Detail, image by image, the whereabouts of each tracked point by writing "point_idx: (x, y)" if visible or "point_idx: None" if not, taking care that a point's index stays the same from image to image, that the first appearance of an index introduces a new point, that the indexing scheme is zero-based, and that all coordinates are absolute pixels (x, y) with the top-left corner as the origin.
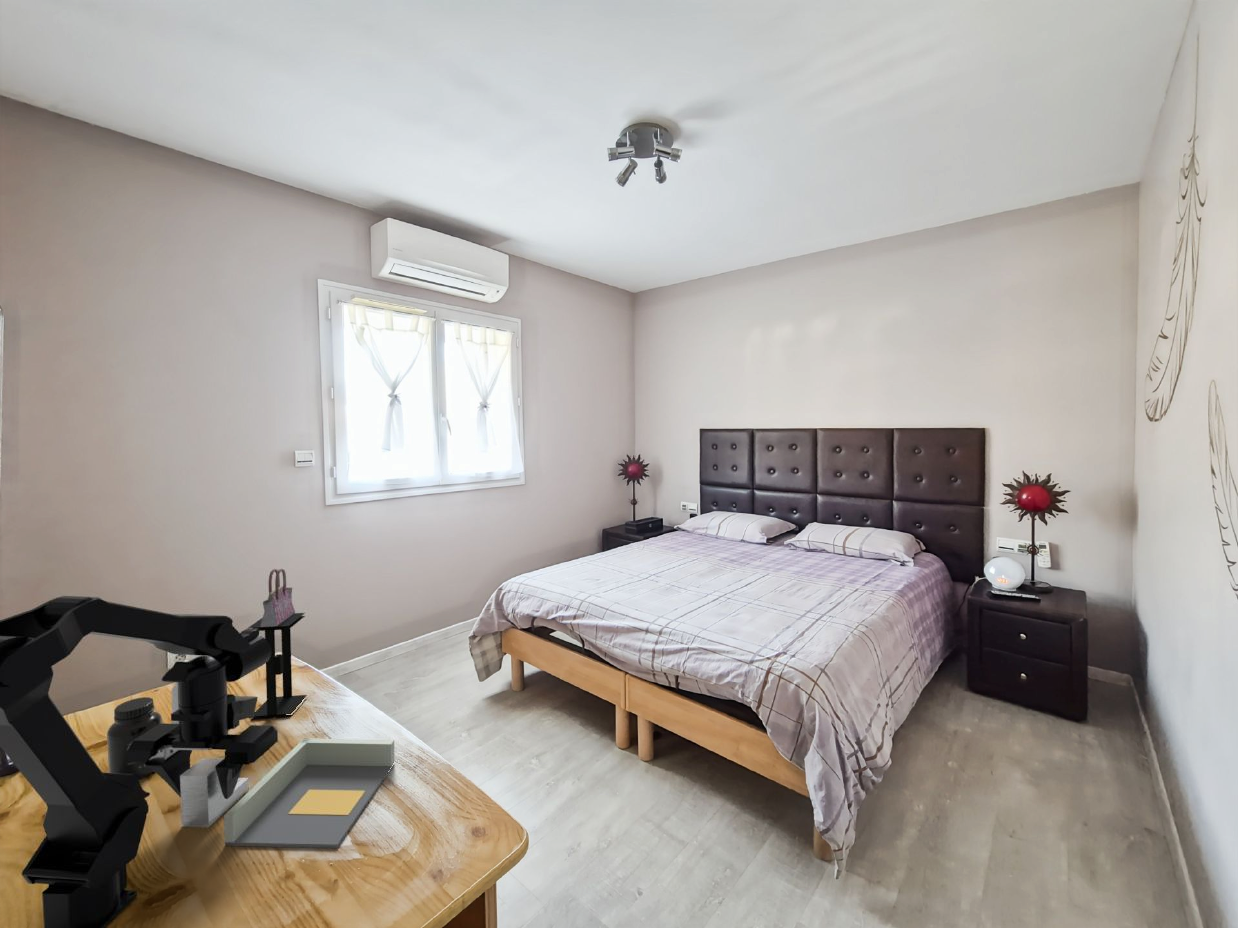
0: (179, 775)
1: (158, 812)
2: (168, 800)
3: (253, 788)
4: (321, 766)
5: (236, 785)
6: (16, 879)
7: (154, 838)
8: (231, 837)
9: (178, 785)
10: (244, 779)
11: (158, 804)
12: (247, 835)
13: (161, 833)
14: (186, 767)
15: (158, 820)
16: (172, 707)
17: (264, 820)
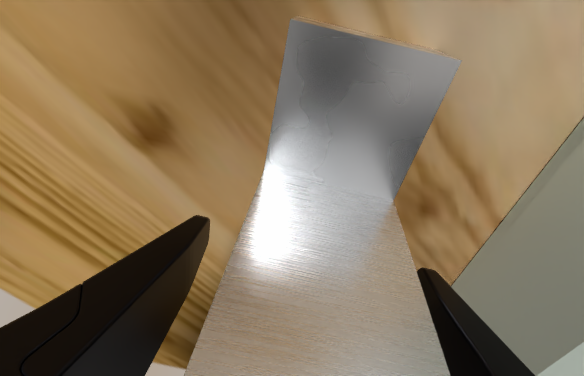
0: (128, 368)
1: (112, 137)
2: (81, 63)
3: (573, 354)
4: None
5: (404, 127)
6: (10, 289)
7: (208, 251)
8: None
9: (167, 327)
10: (439, 74)
11: (63, 84)
12: None
13: (213, 238)
14: (107, 359)
15: (152, 181)
16: None
17: None
